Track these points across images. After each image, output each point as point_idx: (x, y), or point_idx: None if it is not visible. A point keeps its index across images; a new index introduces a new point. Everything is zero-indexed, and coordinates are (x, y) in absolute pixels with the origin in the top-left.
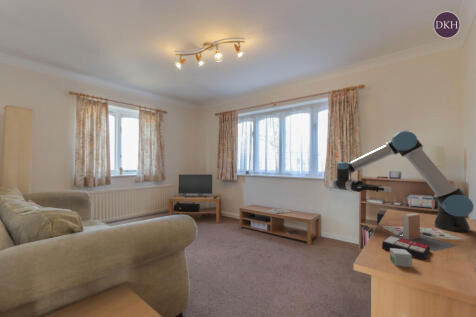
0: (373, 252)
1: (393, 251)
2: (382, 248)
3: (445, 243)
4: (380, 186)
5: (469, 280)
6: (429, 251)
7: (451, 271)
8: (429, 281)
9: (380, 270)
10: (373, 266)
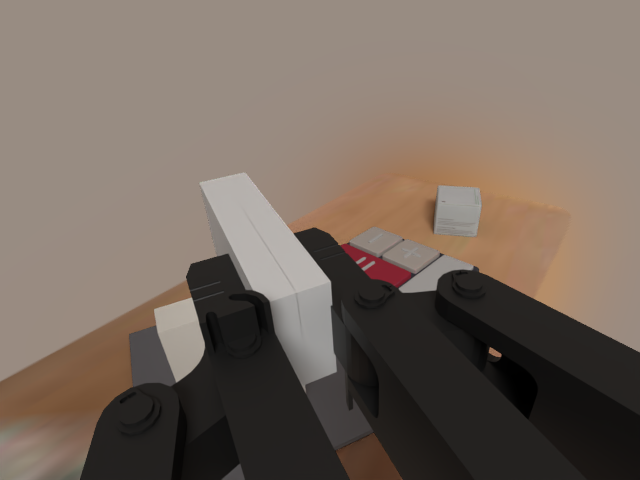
0: (518, 266)
1: (478, 193)
2: None
3: (157, 348)
4: (290, 274)
5: (345, 195)
6: None
7: (350, 212)
8: (429, 186)
9: (518, 200)
10: (532, 210)
